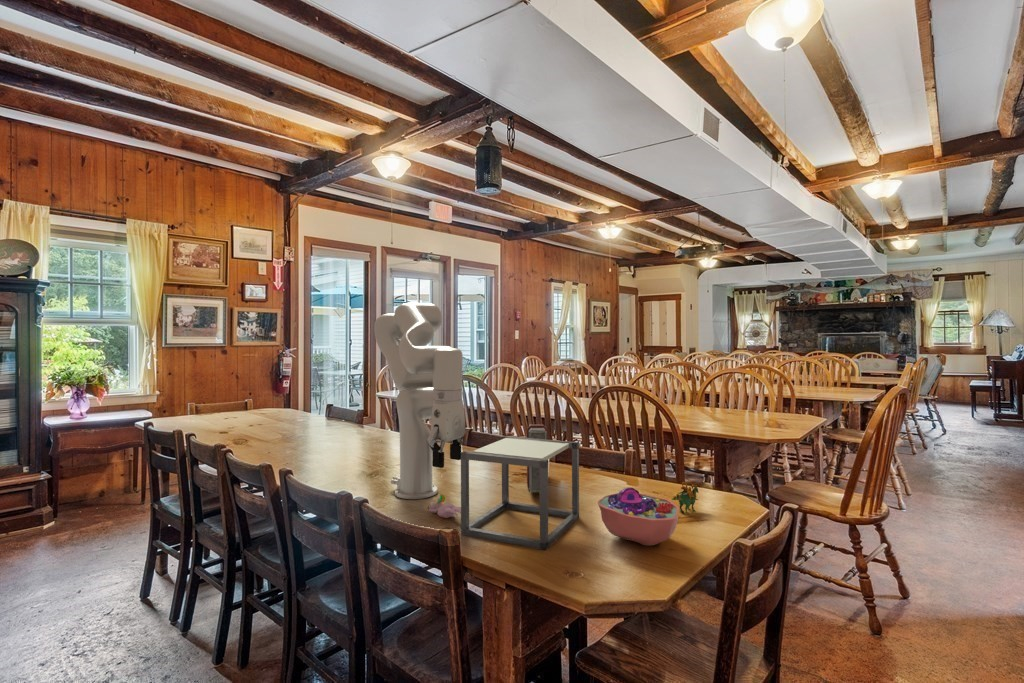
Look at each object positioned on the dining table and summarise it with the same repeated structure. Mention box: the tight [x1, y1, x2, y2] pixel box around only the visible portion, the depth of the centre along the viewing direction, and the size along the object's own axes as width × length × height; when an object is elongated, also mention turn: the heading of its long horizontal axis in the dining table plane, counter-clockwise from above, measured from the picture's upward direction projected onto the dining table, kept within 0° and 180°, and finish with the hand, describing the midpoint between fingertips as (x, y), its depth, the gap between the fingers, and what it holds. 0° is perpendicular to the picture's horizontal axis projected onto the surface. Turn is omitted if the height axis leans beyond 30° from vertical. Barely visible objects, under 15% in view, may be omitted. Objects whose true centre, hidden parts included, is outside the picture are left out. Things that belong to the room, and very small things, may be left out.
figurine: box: [671, 481, 699, 515], centre depth 139 cm, size 3×12×8 cm, turn 128°
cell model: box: [597, 487, 680, 547], centre depth 121 cm, size 17×20×11 cm
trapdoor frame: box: [460, 435, 580, 551], centre depth 130 cm, size 22×23×20 cm
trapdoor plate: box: [471, 438, 569, 461], centre depth 130 cm, size 18×19×1 cm
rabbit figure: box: [426, 493, 461, 519], centre depth 137 cm, size 6×6×15 cm
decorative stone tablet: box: [526, 423, 549, 493], centre depth 166 cm, size 19×6×30 cm
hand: (447, 462), depth 137 cm, fingers open, 7 cm apart
